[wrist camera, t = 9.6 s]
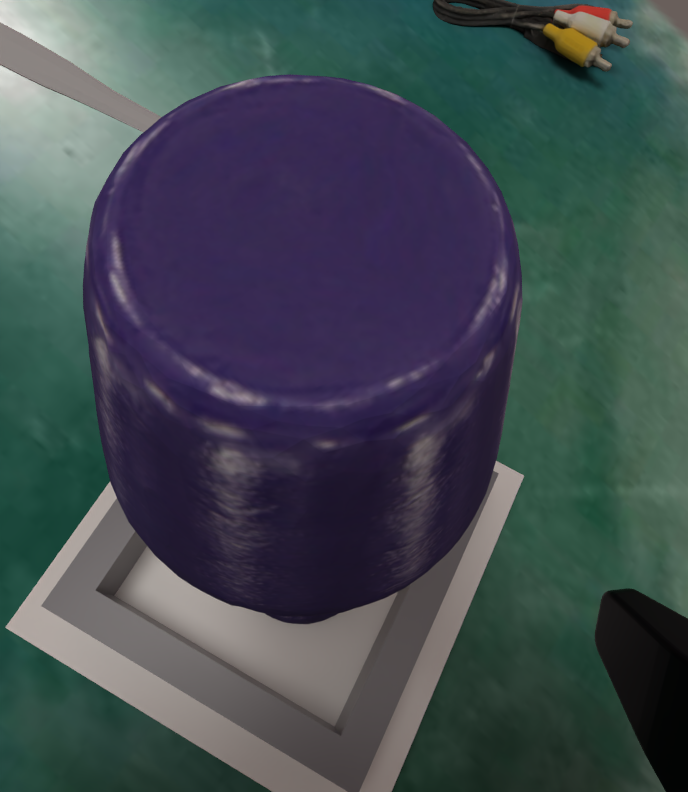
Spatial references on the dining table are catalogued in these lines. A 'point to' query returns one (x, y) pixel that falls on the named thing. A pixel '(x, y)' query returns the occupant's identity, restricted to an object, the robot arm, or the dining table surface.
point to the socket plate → (260, 653)
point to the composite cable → (546, 26)
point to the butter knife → (68, 79)
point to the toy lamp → (301, 340)
